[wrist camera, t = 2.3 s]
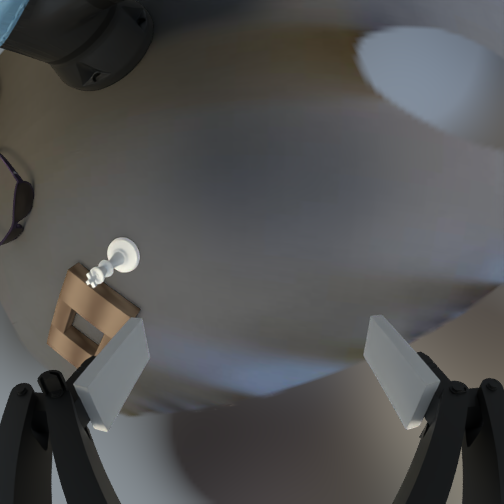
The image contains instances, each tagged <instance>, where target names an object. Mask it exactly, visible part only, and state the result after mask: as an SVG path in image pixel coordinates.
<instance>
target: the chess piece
mask: <svg viewBox="0 0 504 504" xmlns="http://www.w3.org/2000/svg"><path fill="white" fill-rule="evenodd" d="M107 255H108V260H109V261H107V260H102V261H101V262H100V263H99V265H98V267H94V268H92V269H91V270H90V272H89V273H87V274H86V275H87V277H88V280H87V281H86V283H87V285H89V284H91V285H92V287H93V288H94V287H96V286H97V284H101V283H102V282H103V281H104V279H105V277H109V276H111V275H112V274H113V268H115V269H116V270H117V271H120V272H130V271H132V270H134V269H135V268H136V267H137V265H138V263H139V260H140V254H139V250H138V248H137V246H136V245H135V243H134V242H133V241H131V240H130V239H128V238H125V237H119V238H116V239H115V240H113V241H112V242H111V244H110V245H109V247H108V251H107Z"/></svg>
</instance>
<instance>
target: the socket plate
mask: <svg viewBox="0 0 504 504" xmlns="http://www.w3.org/2000/svg"><path fill="white" fill-rule="evenodd" d="M89 272H90V271H88V270H87V269H86V268H85V267H84V266H82V265H81V264H80V263H77V264H76V265H74V266H73V267H71V268H70V269H68V271H67V274H66V277H65V280H64V283H63V286H62V289H61V292H60V295H59V299H58V302H57V305H56V309H55V312H54V316H53V320H52V324H51V328H50V332H49V336H48V340H47V344H48V345H49V346H50V347H51V348H53V349H54V350H55V351H56V352H57V353H59V354H60V355H61V356H62V357H64V358H65V359H66V360H67V361H69V362H70V363H71V364H73V365H74V366H75V367H77V368H79V367H80V365H81V364H82V363H83V362H84V361H85V360H86V359H88V358H89V357H91V356H97V355H98V354H99V353H100V352H101V351H102V349H103V348H104V347H105V346H106V345H107V344H108V343H109V341H110V340H111V339H112V338H113V337H114V336H115V335H116V333H117V332H118V331H119V330H120V329H121V328H122V327H123V326H124V324H125V323H126V322H127V321H128V320H129V319H130V318H131V317H133V318H136V316H137V315H138V313H139V311H140V309H139V308H138V307H136V306H135V305H134V304H132V303H131V302H129V301H128V300H127V299H125V298H124V297H122V296H121V295H120V294H118V293H117V292H116V291H114V290H113V289H112V288H110V287H109V286H108V285H106V284H105V283H104V282H102V283H101V284H97V286H96V287H94V288H93V287H92V285H91V284H89V285H87V283H86V281H87V280H88V277H87V275H86V274H87V273H89ZM76 312H77V313H78V314H80V315H81V316H82V317H83V318H85V319H86V320H87V321H88V322H90V323H91V324H92V325H94V326H95V327H96V328H98V329H99V330H100V331H102V332H103V333H104V336H103V338H102V340H101V342H100V345H99V346H98V345H97V344H96V343H94V342H93V341H92V340H90V339H89V338H88V337H86V336H85V335H84V334H82V333H81V332H80V331H79V330H77V329H76V328H75V327H74V326H72V323H73V320H74V317H75V314H76Z"/></svg>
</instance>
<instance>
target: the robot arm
mask: <svg viewBox="0 0 504 504" xmlns="http://www.w3.org/2000/svg"><path fill="white" fill-rule="evenodd" d="M152 35H153V21H152V18H151V16H150V15H149V13H148V12H147V10H146V9H145V8H144V7H143V6H142V5H141V4H140V3H138V2H137V1H134V0H0V48H3V49H6V50H9V51H13V52H16V53H19V54H22V55H26V56H29V57H32V58H35V59H37V60H40V61H43V62H46V63H48V64H50V65H51V67H52V68H53V69H54V70H55V72H56V73H57V74H58V76H59V77H60V78H61V80H62V81H63V82H64V83H66V84H67V85H69V86H71V87H74V88H76V89H79V90H83V91H94V90H99V89H102V88H105V87H107V86H109V85H111V84H113V83H115V82H117V81H118V80H120V79H121V78H122V77H124V76H125V75H126V74H127V73H129V72H130V71H131V70H132V69H133V68H134V67H135V66H136V65H137V63H138V62H139V61H140V60H141V58H142V57H143V55H144V54H145V52H146V51H147V49H148V47H149V45H150V42H151V39H152ZM363 356H364V357H365V359H366V361H367V362H368V364H369V366H370V367H371V369H372V371H373V372H374V374H375V376H376V378H377V379H378V381H379V383H380V384H381V386H382V388H383V390H384V391H385V393H386V395H387V397H388V399H389V400H390V402H391V404H392V406H393V407H394V409H395V411H396V413H397V414H398V416H399V418H400V420H401V422H402V423H403V425H404V427H405V429H406V430H407V429H411V428H414V427H417V426H420V424H421V422H422V420H423V418H424V417H425V419H426V420H427V424H426V426H425V428H424V430H423V431H422V433H421V435H420V438H421V440H420V443H419V445H418V448H417V451H416V453H415V456H414V458H413V461H412V463H411V465H410V468H409V470H408V472H407V475H406V477H405V479H404V481H403V483H402V485H401V487H400V489H399V491H398V494H397V495H396V497H395V499H394V502H393V503H392V504H446V501H447V498H448V495H449V492H450V489H451V486H452V482H453V479H454V475H455V472H456V468H457V464H458V459H459V455H460V451H461V446H462V459H463V499H462V504H504V389H503V386H502V385H501V383H500V382H499V381H497V380H495V379H491V378H488V379H485V380H483V381H482V383H481V385H480V387H479V388H472V389H468V387H467V386H466V385H465V384H464V383H462V382H459V381H450V380H449V379H448V378H447V376H446V375H445V374H444V373H443V372H442V371H441V370H440V369H439V367H437V365H436V364H435V363H433V361H432V360H431V359H430V357H429V356H427V355H425V354H424V353H422V352H417V353H416V352H415V351H414V350H413V349H412V347H411V346H410V345H409V344H408V343H407V342H406V341H405V339H404V338H403V337H402V336H401V335H400V334H399V333H398V332H397V331H396V330H395V328H394V327H393V326H392V325H391V324H390V323H389V322H388V321H387V320H386V319H385V318H384V316H383V315H375V316H370V322H369V328H368V334H367V339H366V345H365V350H364V354H363ZM149 359H150V354H149V349H148V345H147V340H146V335H145V330H144V324H143V319H142V318H133V317H131V318H130V319H129V320H128V321H127V322H126V323H125V324H124V326H123V327H122V328H121V329H120V330H119V331H118V332H117V333H116V335H115V336H114V337H113V338H112V339H111V340H110V341H109V343H108V344H107V345H106V346H105V347H104V348H103V349H102V351H101V352H100V353H99V354H98V355H97V356H91V357H89V358H88V359H86V360H85V361H84V362H83V363H82V364H81V365H80V367H79V368H78V369H77V370H76V371H75V372H74V373H73V374H72V376H71V377H70V378H69V379H68V380H67V381H66V382H65V379H64V377H63V375H62V373H61V372H60V371H57V370H49V371H46V372H44V373H42V374H41V375H40V376H39V377H38V384H39V386H40V387H41V390H42V392H43V393H37V392H34V390H33V388H32V387H31V385H30V384H27V383H21V384H18V385H16V386H15V387H14V388H13V389H12V391H11V393H10V396H9V399H8V402H7V404H6V407H5V410H4V414H3V417H2V420H1V423H0V504H52V494H51V473H52V471H51V470H52V452H53V455H54V459H55V463H56V467H57V471H58V475H59V479H60V482H61V485H62V489H63V492H64V495H65V498H66V501H67V504H121V503H120V501H119V499H118V497H117V495H116V493H115V491H114V489H113V487H112V485H111V483H110V481H109V479H108V477H107V474H106V472H105V470H104V468H103V465H102V463H101V460H100V458H99V455H98V453H97V450H96V448H95V445H94V442H93V439H92V437H91V434H90V431H89V429H88V427H87V424H88V423H89V421H91V423H92V425H93V426H94V428H95V429H98V430H102V431H106V432H109V430H110V428H111V426H112V424H113V422H114V421H115V419H116V417H117V415H118V413H119V411H120V410H121V408H122V406H123V404H124V402H125V401H126V399H127V397H128V395H129V394H130V392H131V390H132V388H133V387H134V385H135V383H136V381H137V380H138V378H139V376H140V374H141V373H142V371H143V369H144V367H145V366H146V364H147V362H148V360H149Z"/></svg>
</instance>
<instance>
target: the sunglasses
mask: <svg viewBox="0 0 504 504" xmlns="http://www.w3.org/2000/svg"><path fill="white" fill-rule="evenodd" d="M0 158H1V159H2V160H3V162H4V163H5V164H6V166H7V167H8V169H9V170H10V172H11V173H12V175H13V176H14V178H15V179H16V181H17V184H16V186H15V191H14V200H13V221H12V226H11V228H10V230H9V232H8V233H7V235H6V236H5V237H4V239H3V240H2V241H1V242H0V245H3V244H6V243H8V242H10V241H12V240H14V239H16V238H17V237H18V236H19V235H20V234H21V232H23V228H22V226H21V225H20V224H17V223H18V222H19V221H20V220H22V219H23V218H25V217H26V216H27V215H28V213H29V212H30V211H31V209H32V204H33V199H34V192H33V188H32V186H31V184H30V183H29V182H27V181H23V180H22V179H21V177H20V176H19V175H18V173H17V172H16V171H15V169H14V168H13V167H12V166H11V164H10V163H9V162H8V161H7V160H6V158H5V157H4V156H3V155H2V154H0Z"/></svg>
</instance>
